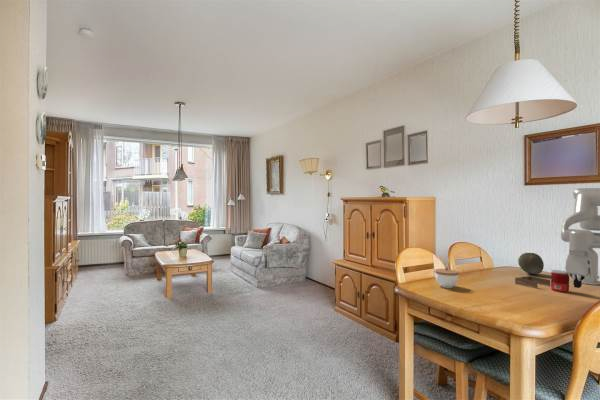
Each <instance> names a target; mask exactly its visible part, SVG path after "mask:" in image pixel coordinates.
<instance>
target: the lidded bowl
mask: <svg viewBox="0 0 600 400" xmlns="http://www.w3.org/2000/svg"><path fill="white" fill-rule="evenodd" d="M434 276H435V281H436V283H437V284H438V285H439V287H441V288H444V289H452V288H454V287H455V286H456V285H457V283H458V281H459V271H458V270H455V269H451V268H449V267H447V266H446V267H445V268H435V269H434Z"/></svg>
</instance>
